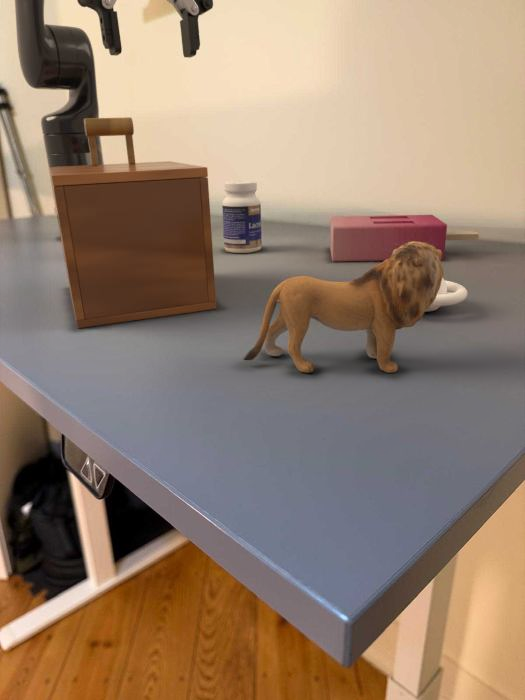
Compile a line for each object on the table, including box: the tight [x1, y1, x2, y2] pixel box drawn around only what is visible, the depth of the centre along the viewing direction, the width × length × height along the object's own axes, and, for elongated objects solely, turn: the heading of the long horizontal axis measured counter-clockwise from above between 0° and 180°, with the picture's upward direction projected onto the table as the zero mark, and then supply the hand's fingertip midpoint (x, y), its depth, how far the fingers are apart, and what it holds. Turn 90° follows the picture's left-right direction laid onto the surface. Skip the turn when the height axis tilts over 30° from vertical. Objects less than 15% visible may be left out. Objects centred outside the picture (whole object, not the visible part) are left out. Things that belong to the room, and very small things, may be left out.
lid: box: [48, 116, 209, 186], centre depth 54 cm, size 16×14×6 cm
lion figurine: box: [242, 241, 445, 374], centre depth 40 cm, size 15×5×9 cm, turn 93°
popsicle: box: [329, 214, 480, 263], centre depth 75 cm, size 9×5×20 cm
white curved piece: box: [424, 276, 468, 313], centre depth 52 cm, size 8×6×8 cm
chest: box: [50, 177, 217, 329], centre depth 57 cm, size 16×14×13 cm
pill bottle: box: [221, 180, 263, 254], centre depth 80 cm, size 6×6×10 cm
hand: (154, 55), depth 59 cm, fingers open, 8 cm apart
